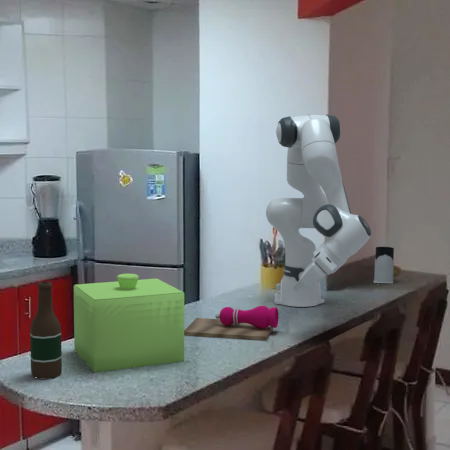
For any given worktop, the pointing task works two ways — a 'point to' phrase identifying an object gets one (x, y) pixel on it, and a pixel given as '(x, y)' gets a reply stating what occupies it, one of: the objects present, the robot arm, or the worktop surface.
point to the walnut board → (226, 330)
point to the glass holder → (384, 265)
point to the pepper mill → (250, 316)
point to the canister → (128, 323)
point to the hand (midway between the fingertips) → (294, 289)
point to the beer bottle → (45, 337)
